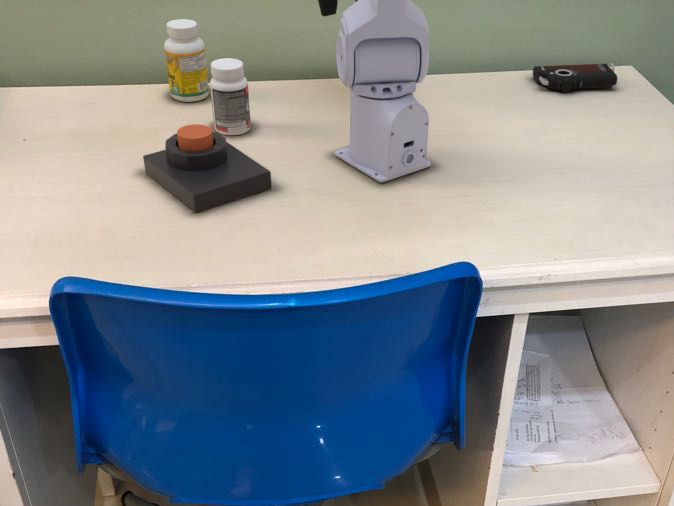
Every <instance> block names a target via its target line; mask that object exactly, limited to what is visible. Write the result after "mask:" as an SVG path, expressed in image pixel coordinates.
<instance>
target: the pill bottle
mask: <svg viewBox="0 0 674 506" xmlns="http://www.w3.org/2000/svg"><path fill="white" fill-rule="evenodd" d="M210 74H211V76H212V77H211V79H210V80H209V91H210V97H211V108H212V119H213V120H212V121H213V128H214V130H215V131H216V133H219V134H220V135H222V136H223V135H224V136H238V135H239V136H240V135H243V134H245V133H247V132H249V131H250V130H251V127H252V123H251V121H252V120H251V109H250V96H249V95H250V94H249V93H250V92H249V82H248V79H247V78H246V76H245V69H244V62H243V61H241V59H237V58H231V57H224V58H217V59H215V60H213V61H211V63H210Z"/></svg>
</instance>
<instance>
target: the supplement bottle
mask: <svg viewBox="0 0 674 506" xmlns="http://www.w3.org/2000/svg"><path fill="white" fill-rule="evenodd" d="M166 31H167V32H166V33H167V35H168V37H169V38H167V39H166V40H165V42H164V45H163V46H164V47H163V48H164V49H163V50H164V56H165V65H166V73H167V79H168V89H169V94H170V96H171V98H173V99H174V100H176V101H178V102H184V103H193V102H199V101H202V100H204V99H207V98H208V96H209V94H210V84H209V77H208V67H207V58H206V57H207V56H206V55H207V54H206V48H205V47H206V45H205V43H204V41H203V40H202V38H200V37H199V36H198V35H199V28H198V22H197V21H195V20H192V19H188V18H183V19H182V18H178V19H173V20H169V21H168V22H167V23H166Z"/></svg>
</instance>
